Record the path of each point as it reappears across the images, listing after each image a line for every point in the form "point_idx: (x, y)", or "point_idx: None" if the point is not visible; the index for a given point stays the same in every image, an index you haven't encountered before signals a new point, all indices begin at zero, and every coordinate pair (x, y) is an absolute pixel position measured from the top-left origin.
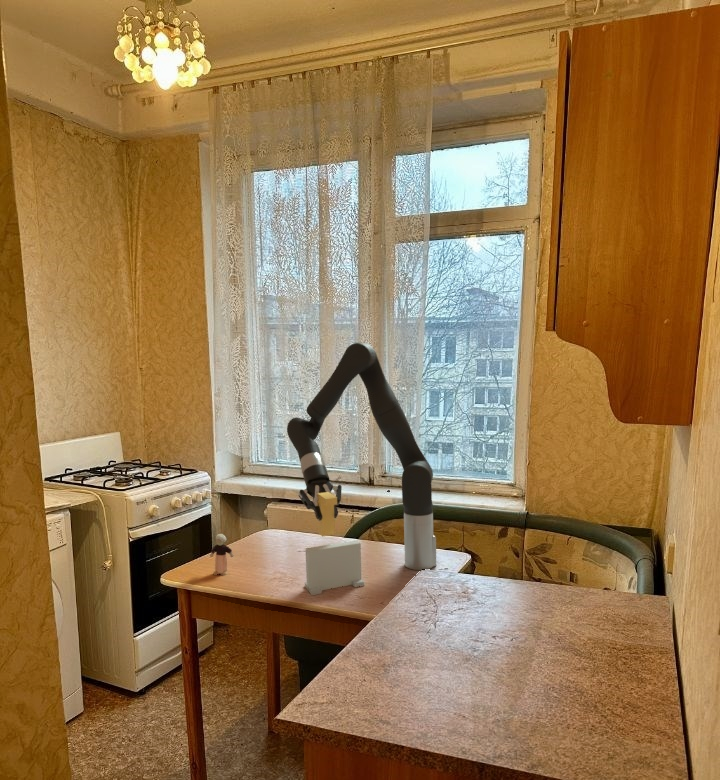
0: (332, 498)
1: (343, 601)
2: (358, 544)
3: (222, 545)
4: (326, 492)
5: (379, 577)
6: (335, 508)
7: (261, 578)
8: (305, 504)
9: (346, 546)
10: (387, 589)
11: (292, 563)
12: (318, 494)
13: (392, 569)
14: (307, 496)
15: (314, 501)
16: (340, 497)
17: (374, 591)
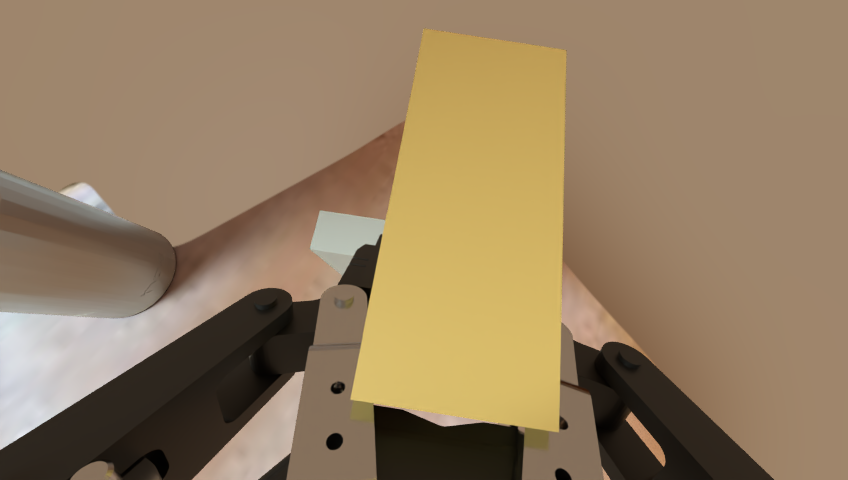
0: (480, 39)
1: None
2: (330, 213)
3: None
4: (397, 378)
5: (288, 260)
6: (361, 271)
7: (607, 475)
8: (648, 450)
9: (384, 221)
10: (323, 185)
11: None
12: (556, 366)
13: (216, 291)
14: (711, 473)
15: (575, 366)
16: (224, 315)
17: (357, 192)
